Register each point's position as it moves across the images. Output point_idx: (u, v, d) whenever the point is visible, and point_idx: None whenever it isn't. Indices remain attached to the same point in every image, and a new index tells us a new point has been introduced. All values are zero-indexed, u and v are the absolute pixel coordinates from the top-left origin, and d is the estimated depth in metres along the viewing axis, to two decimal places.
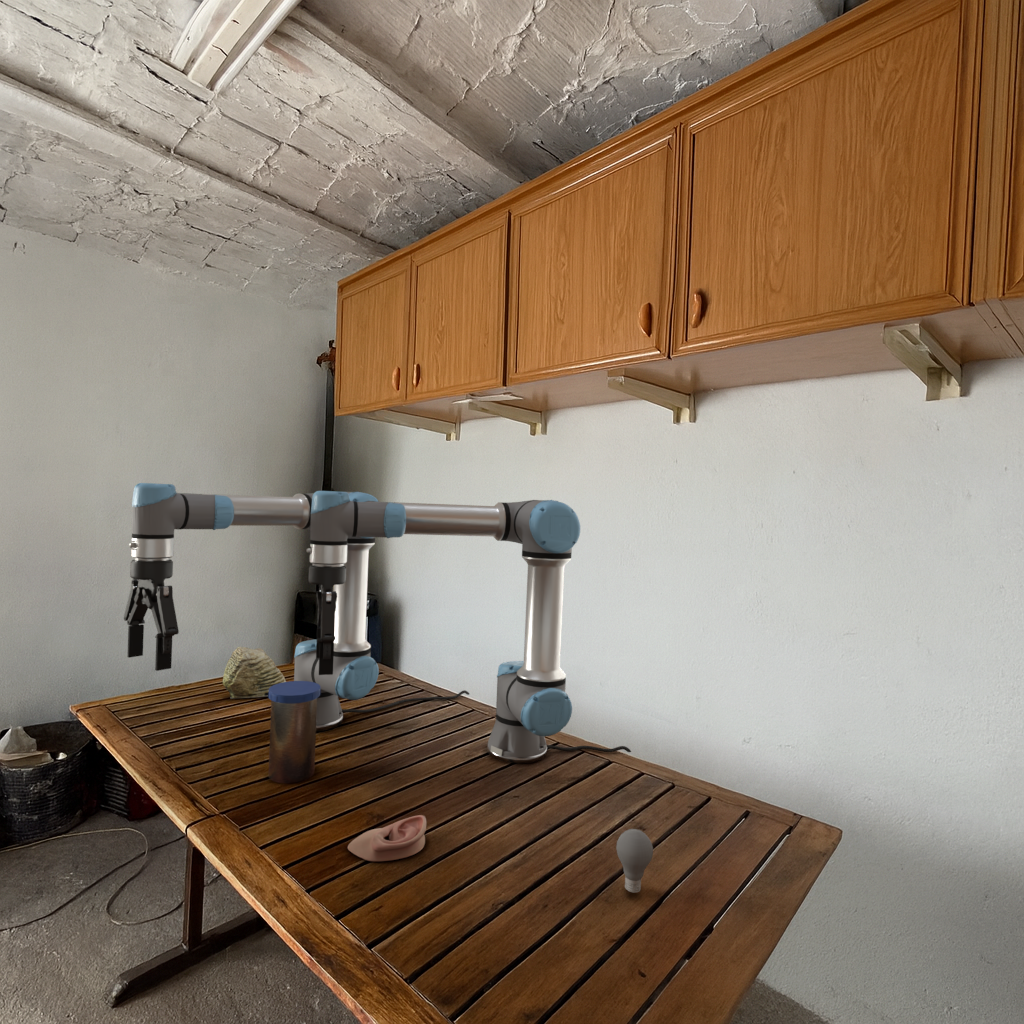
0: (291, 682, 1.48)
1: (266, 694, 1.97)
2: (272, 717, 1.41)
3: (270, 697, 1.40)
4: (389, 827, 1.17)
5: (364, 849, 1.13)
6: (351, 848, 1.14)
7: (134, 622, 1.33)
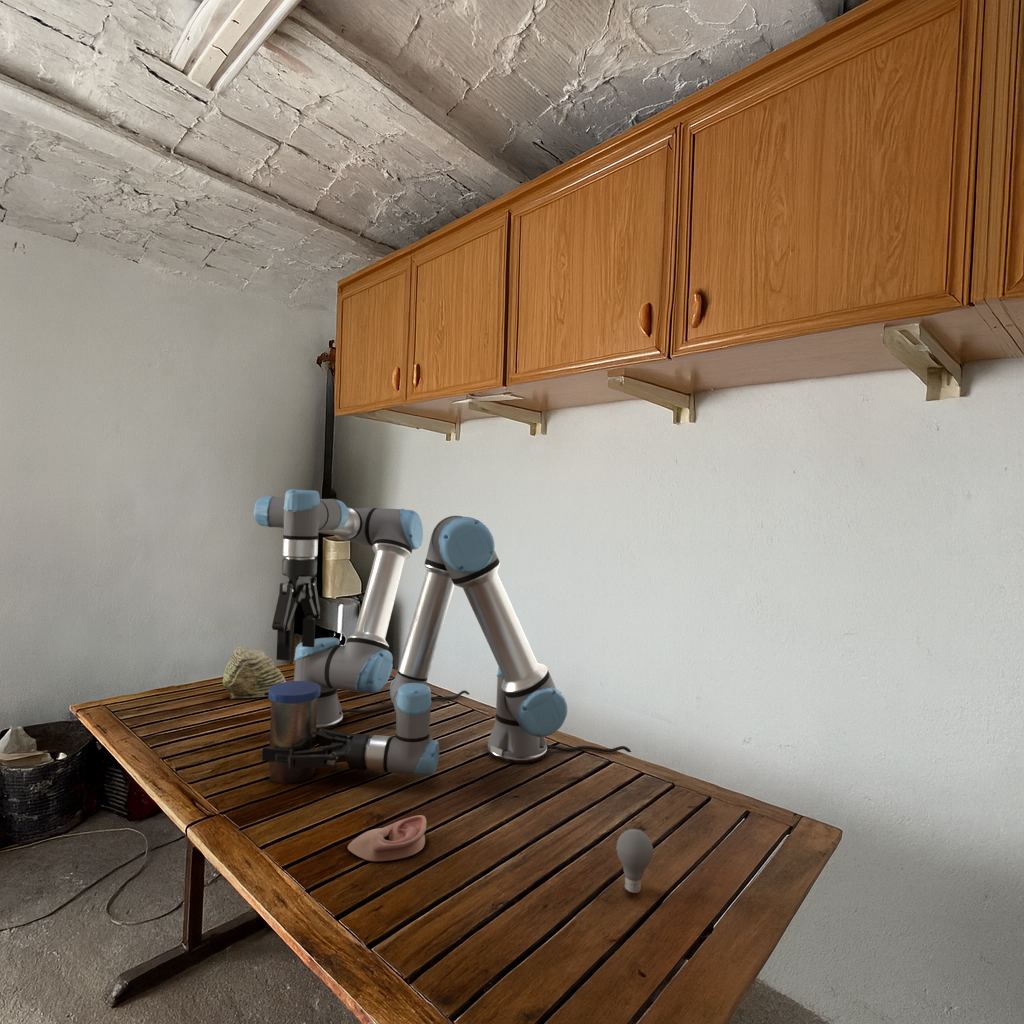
0: (291, 682, 1.48)
1: (266, 694, 1.97)
2: (272, 717, 1.41)
3: (270, 697, 1.40)
4: (389, 827, 1.17)
5: (364, 849, 1.13)
6: (351, 848, 1.14)
7: (309, 616, 1.50)
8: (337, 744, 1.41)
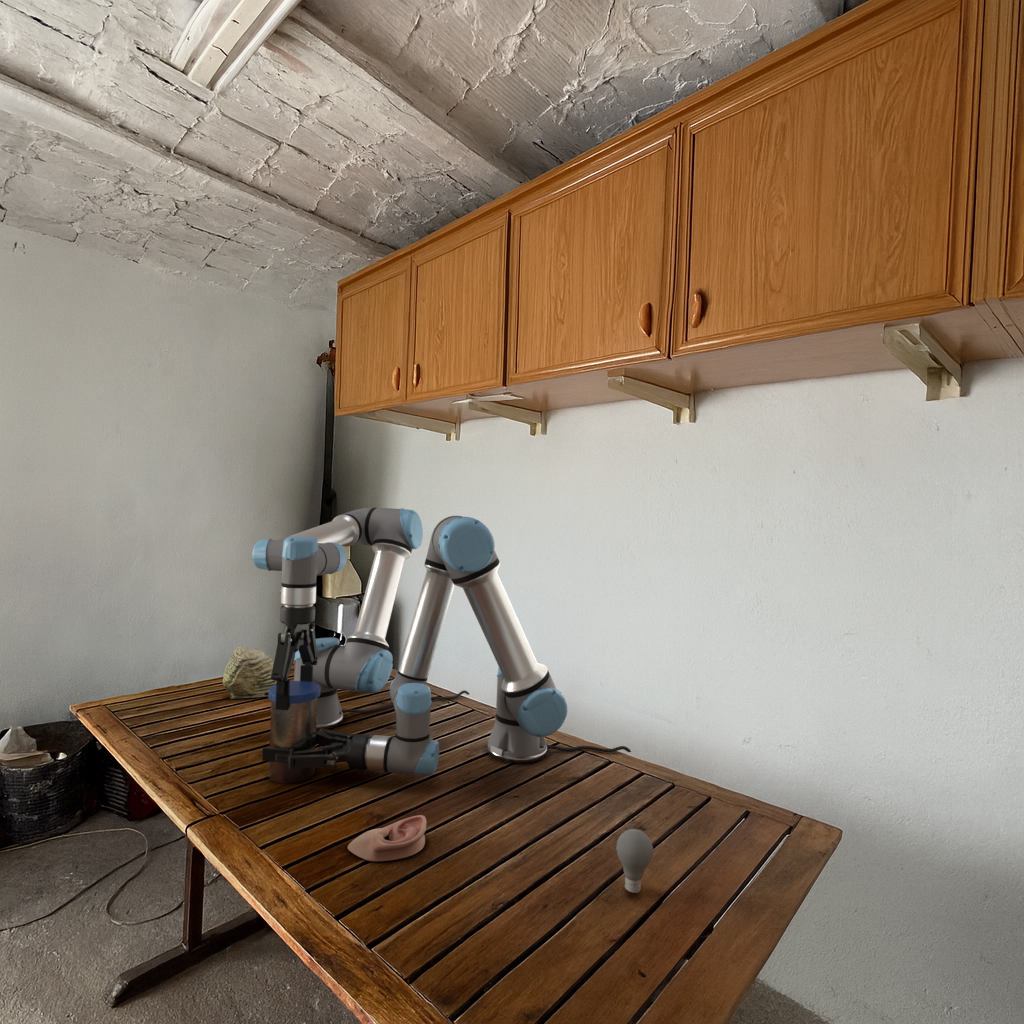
0: (291, 682, 1.48)
1: (266, 694, 1.97)
2: (272, 717, 1.41)
3: (270, 697, 1.40)
4: (389, 827, 1.17)
5: (364, 849, 1.13)
6: (351, 848, 1.14)
7: (306, 662, 1.50)
8: (337, 744, 1.41)
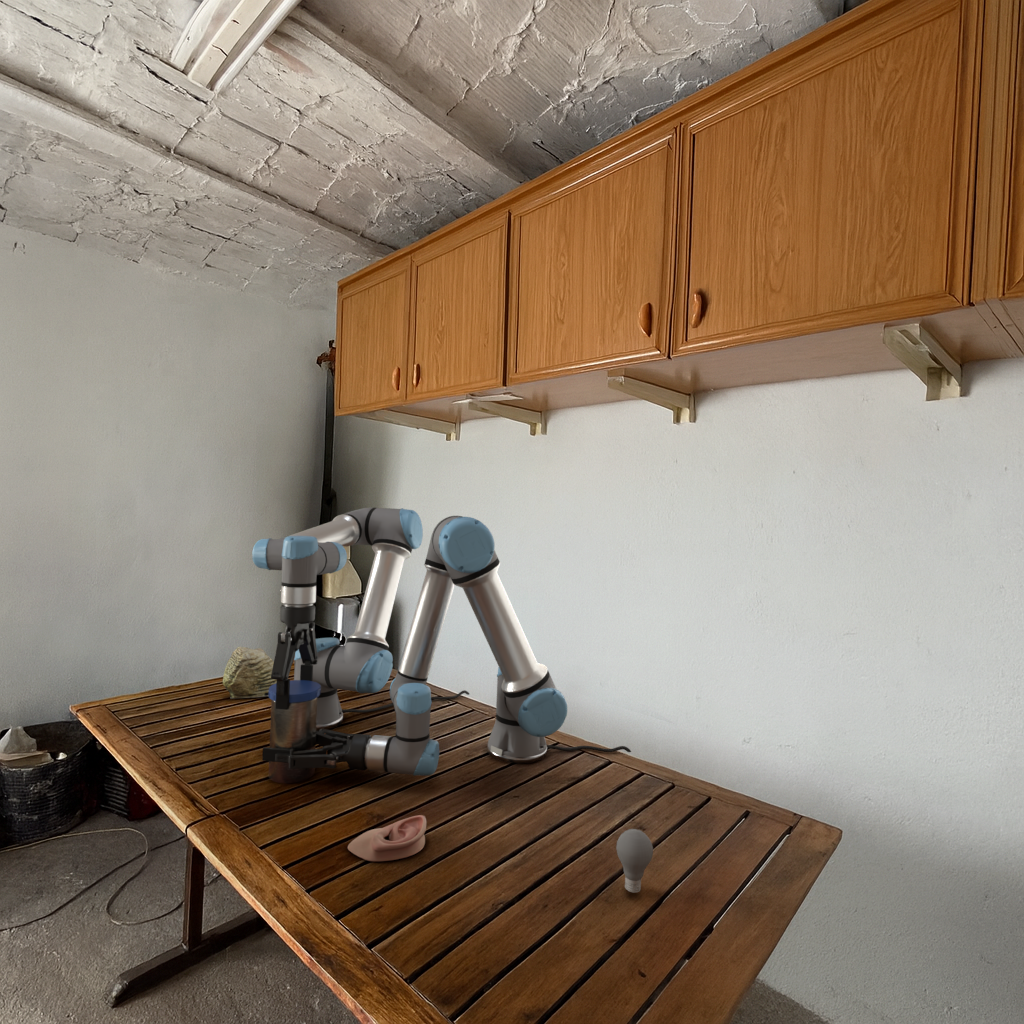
0: (274, 687, 1.43)
1: (266, 694, 1.97)
2: (272, 717, 1.41)
3: (298, 699, 1.39)
4: (389, 827, 1.17)
5: (364, 849, 1.13)
6: (351, 848, 1.14)
7: (306, 661, 1.50)
8: (337, 744, 1.41)
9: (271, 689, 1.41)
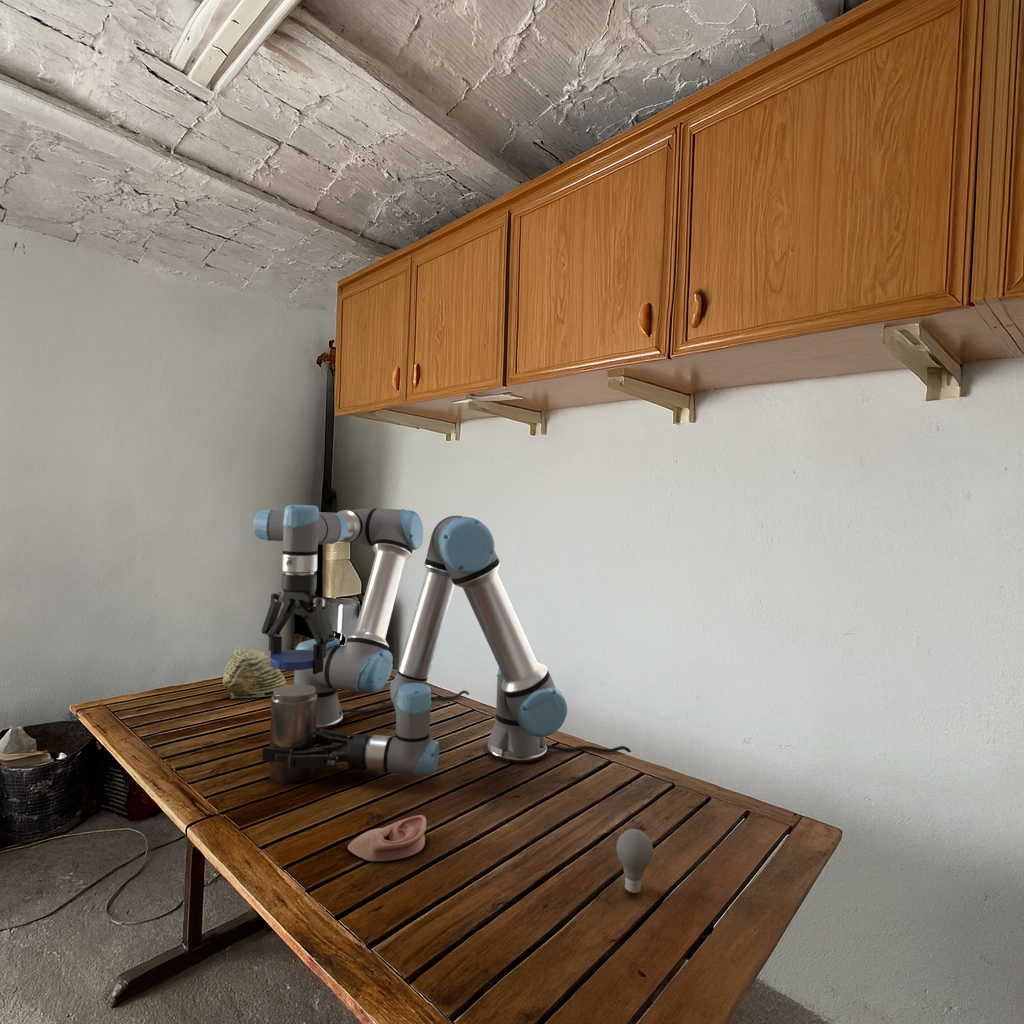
0: (289, 661, 1.39)
1: (266, 694, 1.97)
2: (272, 717, 1.41)
3: None
4: (389, 827, 1.17)
5: (364, 849, 1.13)
6: (351, 848, 1.14)
7: (274, 634, 1.46)
8: (337, 744, 1.41)
9: (295, 661, 1.39)
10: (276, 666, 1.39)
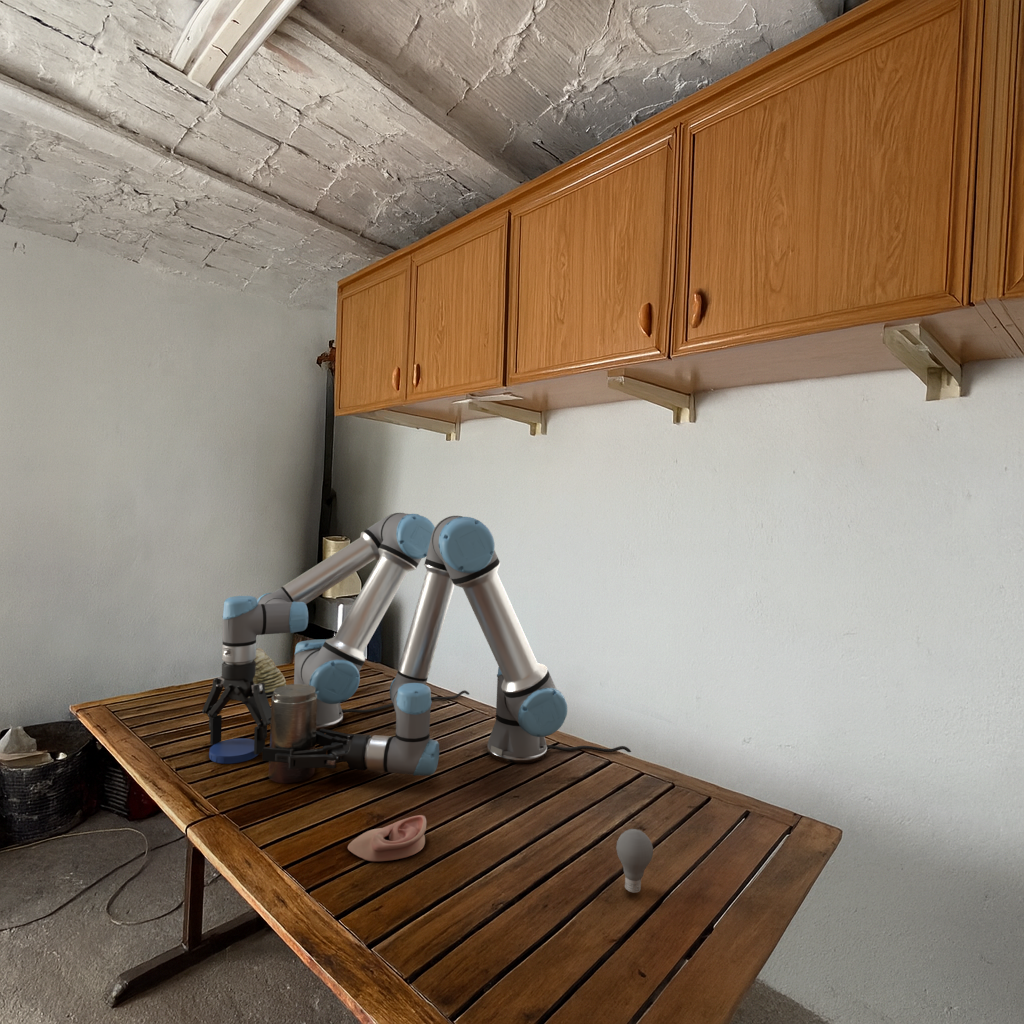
0: (226, 754, 1.49)
1: (266, 694, 1.97)
2: (272, 717, 1.41)
3: None
4: (389, 827, 1.17)
5: (364, 849, 1.13)
6: (351, 848, 1.14)
7: (214, 714, 1.56)
8: (337, 744, 1.41)
9: (231, 755, 1.48)
10: (213, 759, 1.49)
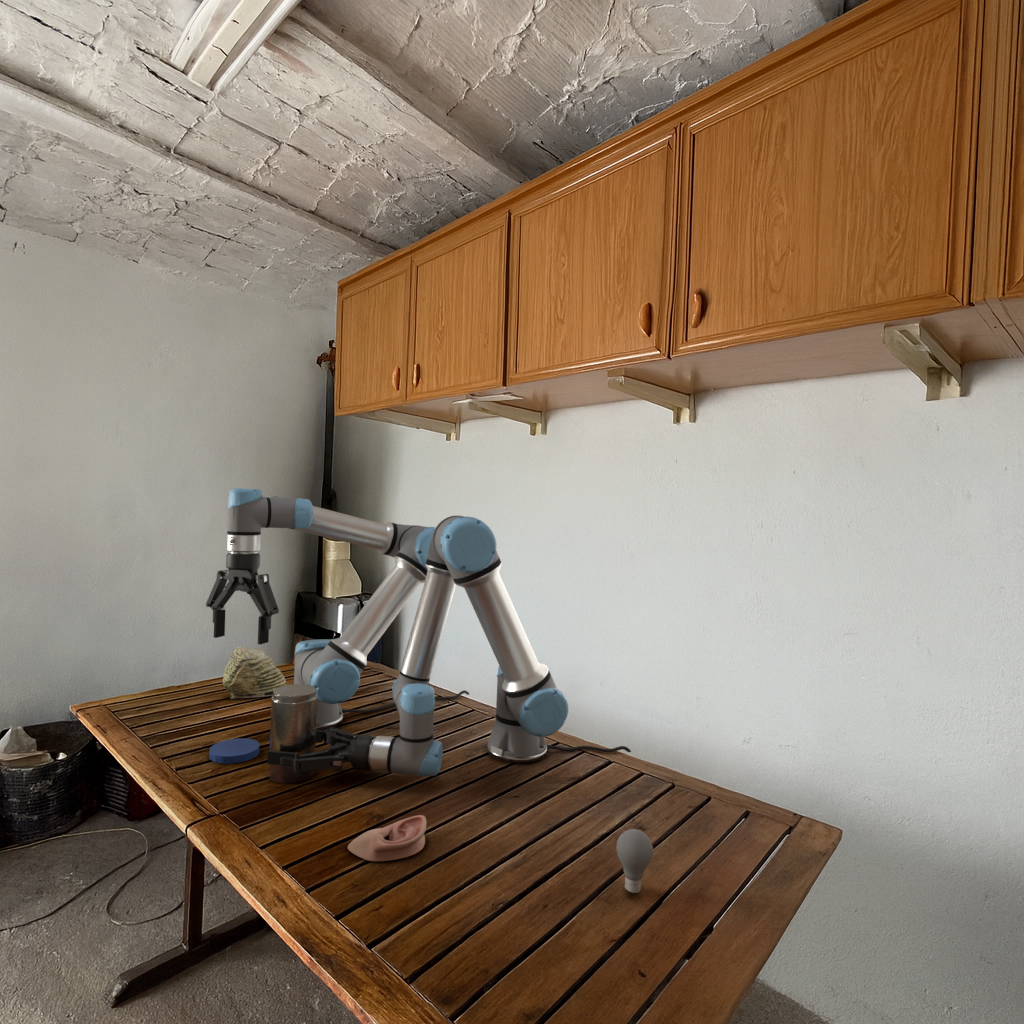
0: (226, 754, 1.49)
1: (266, 694, 1.97)
2: (272, 717, 1.41)
3: (259, 750, 1.55)
4: (389, 827, 1.17)
5: (364, 849, 1.13)
6: (351, 848, 1.14)
7: (218, 607, 1.55)
8: (341, 744, 1.41)
9: (231, 755, 1.48)
10: (213, 759, 1.49)
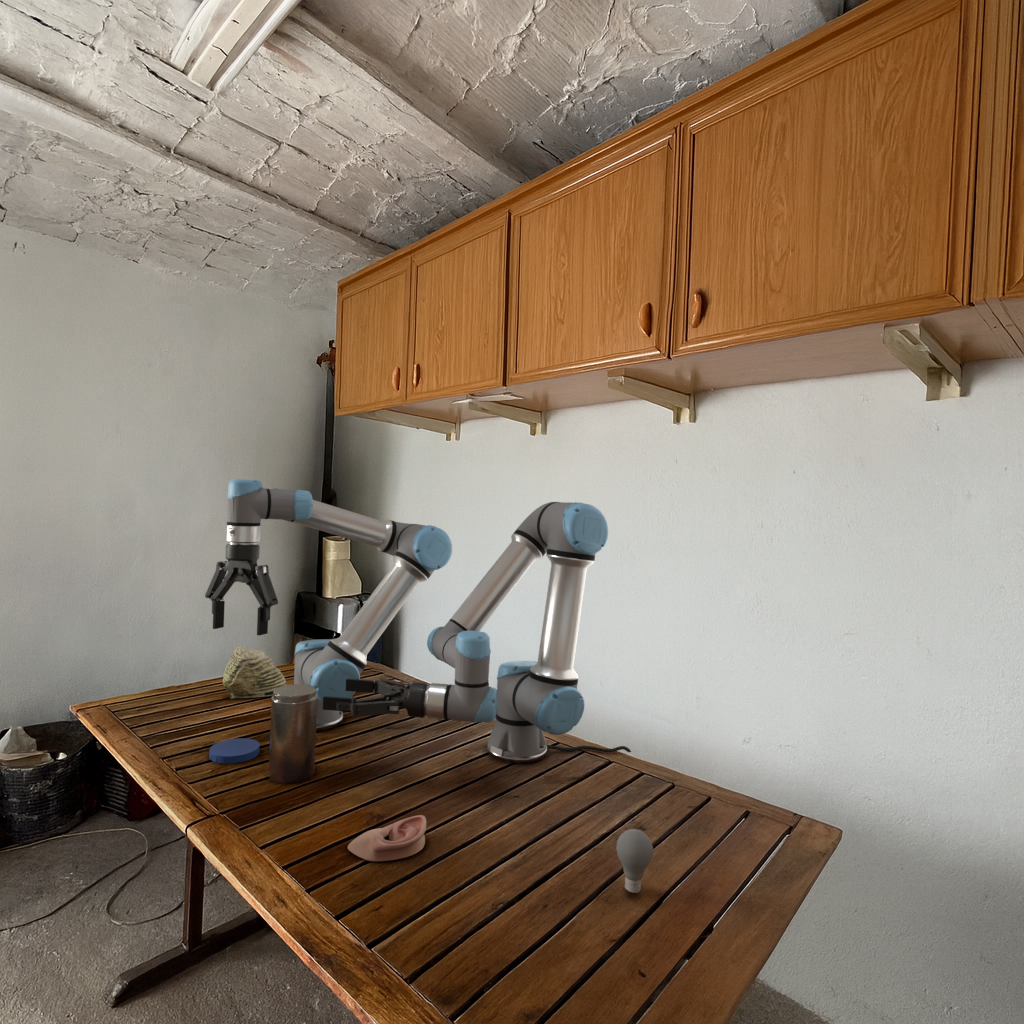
0: (226, 754, 1.49)
1: (266, 694, 1.97)
2: (272, 717, 1.41)
3: (259, 750, 1.55)
4: (389, 827, 1.17)
5: (364, 849, 1.13)
6: (351, 848, 1.14)
7: (217, 598, 1.55)
8: (396, 691, 1.40)
9: (231, 755, 1.48)
10: (213, 759, 1.49)
